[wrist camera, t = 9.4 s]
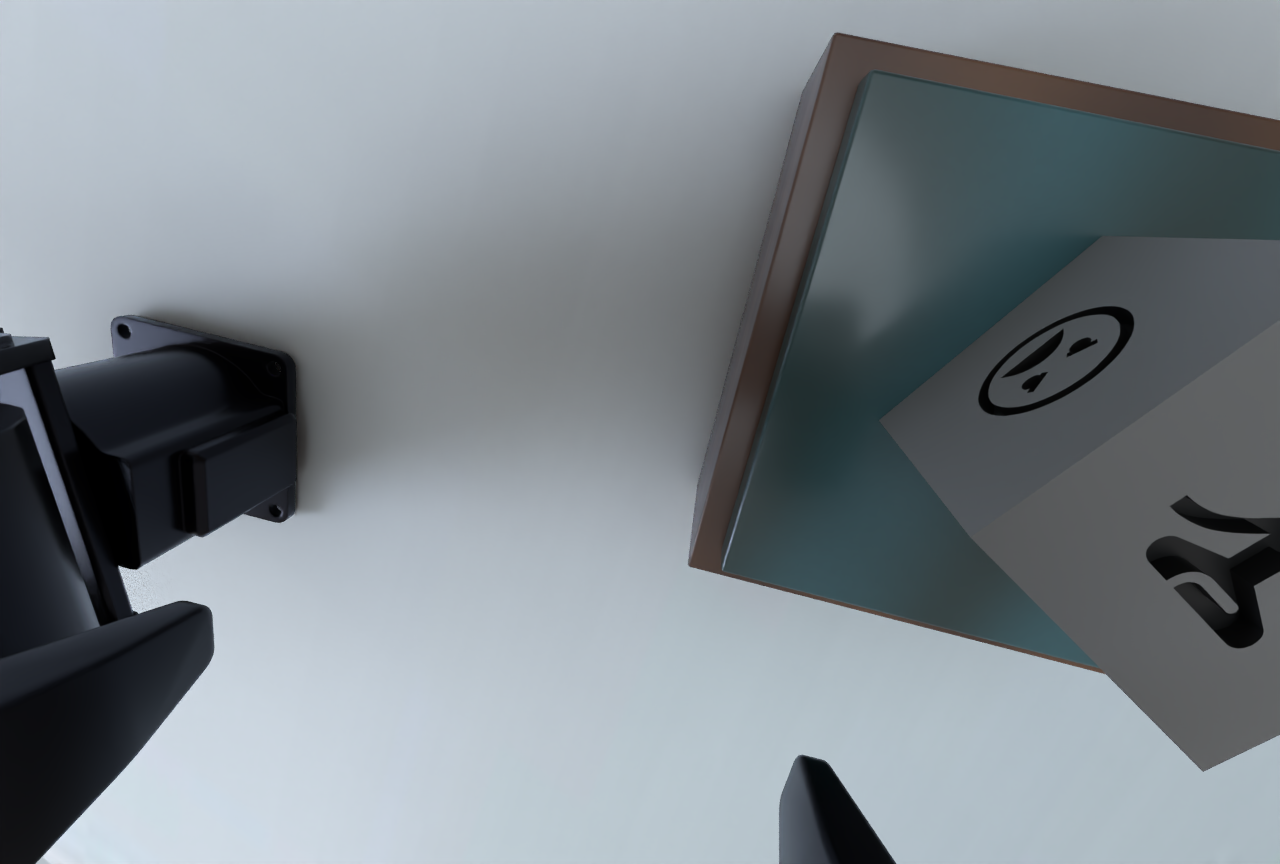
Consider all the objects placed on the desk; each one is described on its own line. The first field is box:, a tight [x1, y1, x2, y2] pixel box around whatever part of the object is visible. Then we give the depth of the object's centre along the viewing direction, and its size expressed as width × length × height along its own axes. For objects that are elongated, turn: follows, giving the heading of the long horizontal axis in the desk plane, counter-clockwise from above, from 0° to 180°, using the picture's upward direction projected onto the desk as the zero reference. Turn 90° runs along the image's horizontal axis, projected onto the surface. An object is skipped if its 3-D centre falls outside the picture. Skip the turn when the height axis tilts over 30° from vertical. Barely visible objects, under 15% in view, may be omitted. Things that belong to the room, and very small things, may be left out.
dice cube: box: [879, 236, 1280, 772], centre depth 10 cm, size 5×5×5 cm
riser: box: [688, 33, 1280, 674], centre depth 15 cm, size 13×12×6 cm
